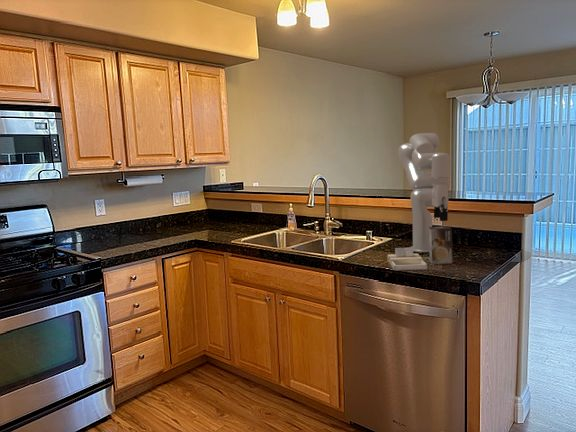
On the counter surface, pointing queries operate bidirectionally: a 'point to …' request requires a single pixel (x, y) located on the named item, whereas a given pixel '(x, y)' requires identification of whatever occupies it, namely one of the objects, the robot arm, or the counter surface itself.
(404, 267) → the tray
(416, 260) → the platform
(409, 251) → the offcut
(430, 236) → the coffee box
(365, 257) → the counter surface
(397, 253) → the offcut
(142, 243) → the counter surface
